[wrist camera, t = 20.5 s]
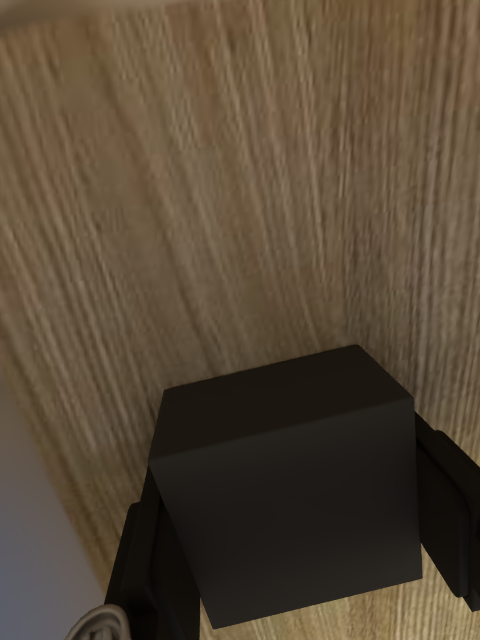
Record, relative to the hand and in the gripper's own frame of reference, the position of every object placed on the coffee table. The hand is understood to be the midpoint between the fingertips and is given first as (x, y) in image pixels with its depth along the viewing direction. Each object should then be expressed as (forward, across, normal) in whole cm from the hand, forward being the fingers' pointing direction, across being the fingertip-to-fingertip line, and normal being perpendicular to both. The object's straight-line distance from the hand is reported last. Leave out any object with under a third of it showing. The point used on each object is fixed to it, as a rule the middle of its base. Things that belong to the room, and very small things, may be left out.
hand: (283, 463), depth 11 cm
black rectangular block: (+1, 0, 0) cm, 1 cm away
